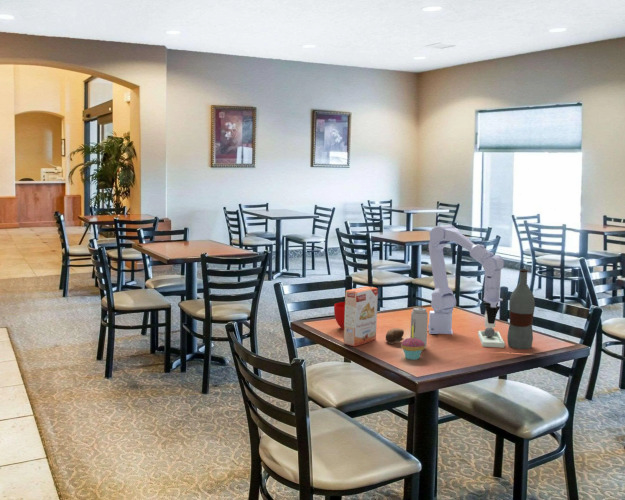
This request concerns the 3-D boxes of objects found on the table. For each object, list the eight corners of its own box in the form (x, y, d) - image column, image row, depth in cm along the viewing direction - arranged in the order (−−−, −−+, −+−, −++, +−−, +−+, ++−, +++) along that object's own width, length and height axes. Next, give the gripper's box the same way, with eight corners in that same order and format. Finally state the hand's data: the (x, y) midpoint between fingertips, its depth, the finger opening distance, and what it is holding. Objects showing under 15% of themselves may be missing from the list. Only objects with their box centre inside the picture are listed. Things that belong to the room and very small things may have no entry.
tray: (482, 347, 245) (482, 342, 245) (478, 335, 262) (478, 330, 262) (504, 349, 244) (504, 343, 243) (498, 337, 261) (498, 331, 261)
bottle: (537, 348, 245) (542, 270, 241) (521, 352, 240) (525, 271, 236) (517, 343, 252) (522, 266, 249) (501, 346, 248) (505, 268, 244)
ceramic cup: (378, 328, 273) (378, 304, 271) (347, 333, 262) (347, 309, 261) (357, 322, 283) (358, 299, 282) (327, 327, 273) (327, 304, 271)
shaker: (485, 327, 249) (485, 312, 248) (484, 325, 253) (484, 310, 252) (495, 327, 248) (496, 312, 248) (494, 325, 252) (495, 310, 252)
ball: (484, 338, 257) (485, 328, 256) (483, 335, 261) (484, 325, 260) (495, 338, 256) (495, 328, 256) (493, 336, 260) (494, 326, 259)
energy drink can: (407, 346, 245) (408, 307, 243) (420, 345, 247) (422, 306, 245) (415, 351, 239) (417, 311, 237) (429, 349, 241) (431, 310, 240)
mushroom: (410, 333, 252) (401, 321, 250) (406, 345, 245) (397, 333, 244) (393, 340, 256) (384, 328, 255) (389, 352, 250) (380, 340, 248)
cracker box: (355, 347, 243) (357, 292, 240) (342, 344, 247) (344, 290, 244) (377, 340, 254) (378, 287, 251) (364, 337, 257) (366, 285, 255)
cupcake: (398, 354, 234) (399, 321, 233) (421, 354, 235) (422, 321, 234) (403, 361, 226) (404, 327, 224) (427, 361, 227) (428, 327, 225)
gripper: (505, 291, 241) (503, 327, 243) (500, 284, 255) (498, 318, 257) (485, 290, 242) (484, 326, 244) (482, 283, 256) (480, 317, 258)
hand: (490, 322), depth 250 cm, fingers closed on shaker, 4 cm apart
